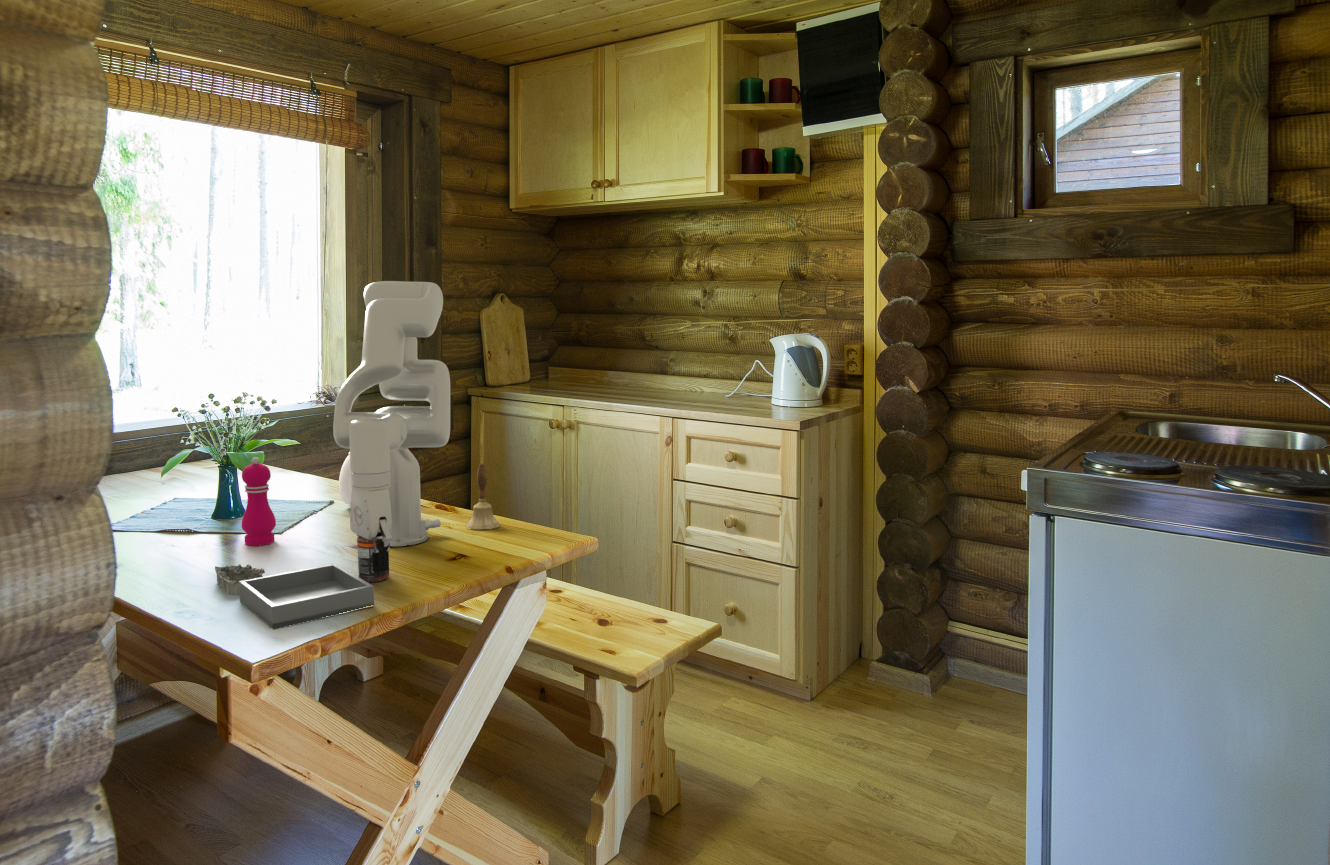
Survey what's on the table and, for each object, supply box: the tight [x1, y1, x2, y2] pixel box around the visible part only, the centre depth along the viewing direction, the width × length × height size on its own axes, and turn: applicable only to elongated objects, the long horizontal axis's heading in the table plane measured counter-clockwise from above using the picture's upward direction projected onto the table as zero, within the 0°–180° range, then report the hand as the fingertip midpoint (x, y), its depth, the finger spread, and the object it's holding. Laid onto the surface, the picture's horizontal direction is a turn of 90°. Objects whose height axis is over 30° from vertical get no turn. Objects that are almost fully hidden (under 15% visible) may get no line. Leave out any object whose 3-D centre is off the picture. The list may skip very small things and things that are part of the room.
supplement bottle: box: [356, 534, 390, 583], centre depth 180 cm, size 6×6×11 cm
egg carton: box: [214, 564, 266, 595], centre depth 175 cm, size 11×8×4 cm
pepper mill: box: [241, 456, 277, 547], centre depth 205 cm, size 7×7×20 cm
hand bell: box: [465, 462, 501, 530], centre depth 223 cm, size 8×8×16 cm
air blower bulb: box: [338, 451, 352, 507], centre depth 240 cm, size 8×8×18 cm
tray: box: [239, 563, 375, 630], centre depth 165 cm, size 18×18×4 cm
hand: (373, 566), depth 181 cm, fingers open, 6 cm apart
